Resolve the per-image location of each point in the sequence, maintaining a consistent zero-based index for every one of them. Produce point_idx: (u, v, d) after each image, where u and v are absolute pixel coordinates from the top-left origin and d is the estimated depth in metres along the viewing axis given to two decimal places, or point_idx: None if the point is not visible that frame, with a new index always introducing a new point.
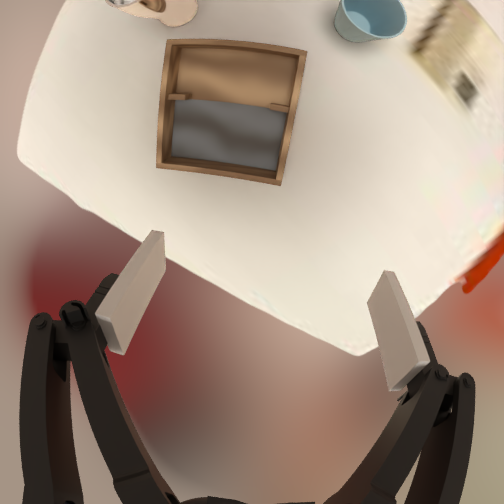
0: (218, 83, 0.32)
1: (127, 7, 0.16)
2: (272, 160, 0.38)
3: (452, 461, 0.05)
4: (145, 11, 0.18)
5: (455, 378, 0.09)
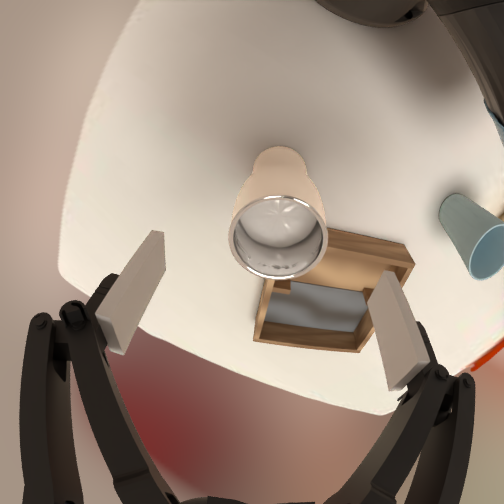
0: (319, 269, 0.36)
1: None
2: (352, 325, 0.43)
3: (452, 461, 0.05)
4: None
5: (455, 378, 0.09)
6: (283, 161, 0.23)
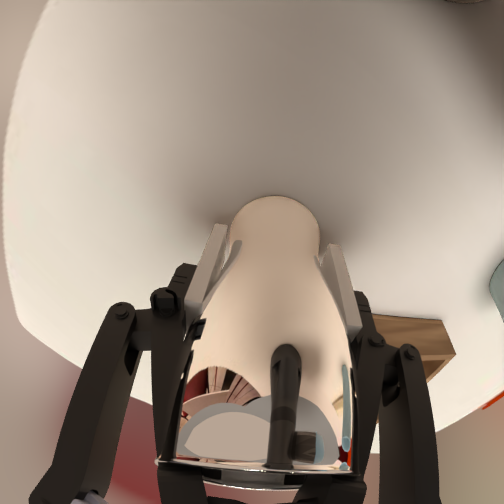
0: None
1: None
2: None
3: (416, 442, 0.06)
4: None
5: (395, 351, 0.11)
6: (280, 253, 0.12)
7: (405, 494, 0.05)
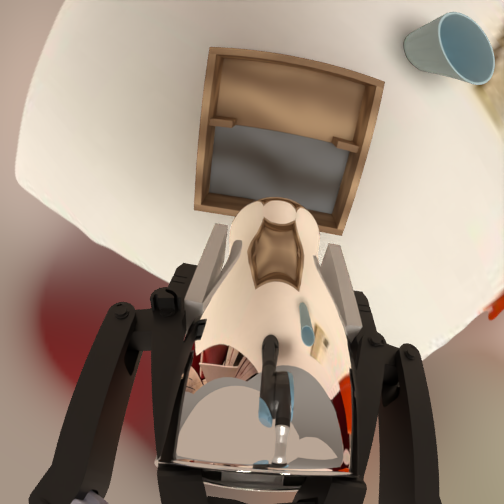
0: (270, 107, 0.28)
1: (248, 480, 0.08)
2: (329, 202, 0.34)
3: (416, 442, 0.06)
4: None
5: (395, 351, 0.11)
6: (279, 255, 0.12)
7: (405, 494, 0.05)
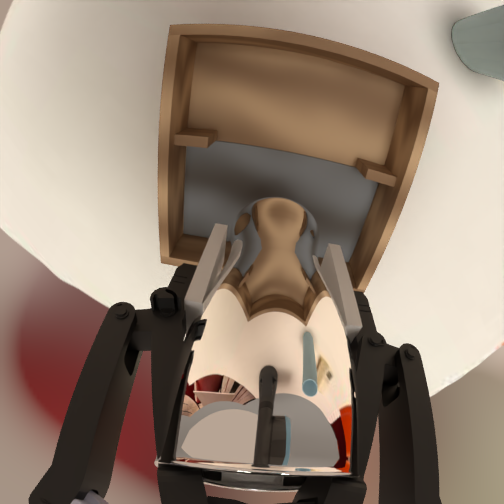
0: (267, 113, 0.19)
1: (248, 480, 0.08)
2: (346, 247, 0.25)
3: (416, 442, 0.06)
4: None
5: (394, 351, 0.11)
6: (279, 255, 0.12)
7: (405, 494, 0.05)
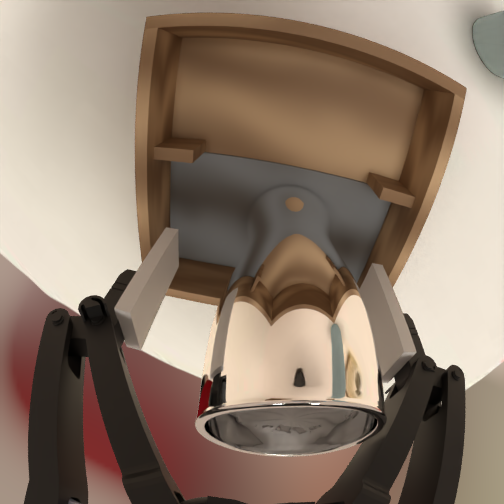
0: (264, 120, 0.16)
1: None
2: (352, 271, 0.22)
3: (445, 456, 0.06)
4: None
5: (443, 371, 0.10)
6: (300, 232, 0.13)
7: None
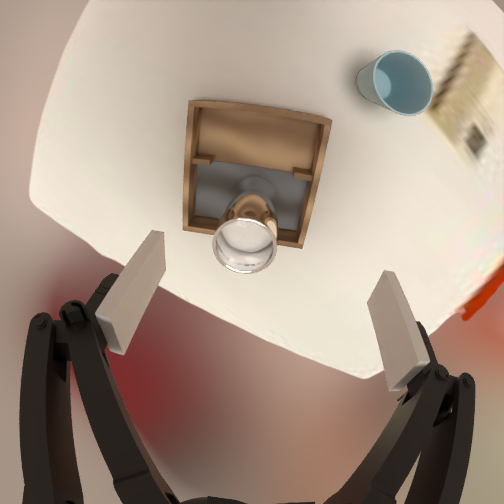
0: (241, 145, 0.36)
1: None
2: (293, 221, 0.42)
3: (452, 461, 0.05)
4: None
5: (455, 378, 0.09)
6: (253, 190, 0.33)
7: None
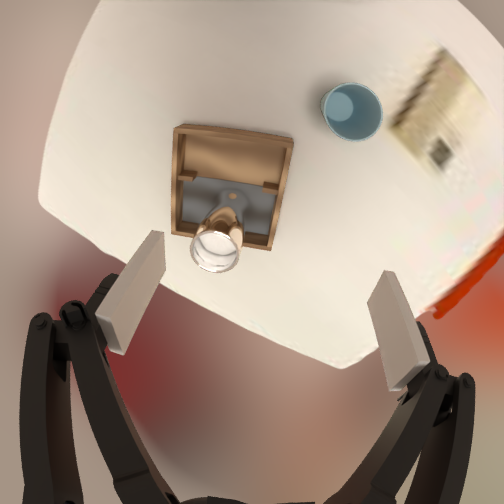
0: (219, 163, 0.43)
1: None
2: (264, 227, 0.49)
3: (452, 461, 0.05)
4: None
5: (455, 378, 0.09)
6: (226, 204, 0.40)
7: None
